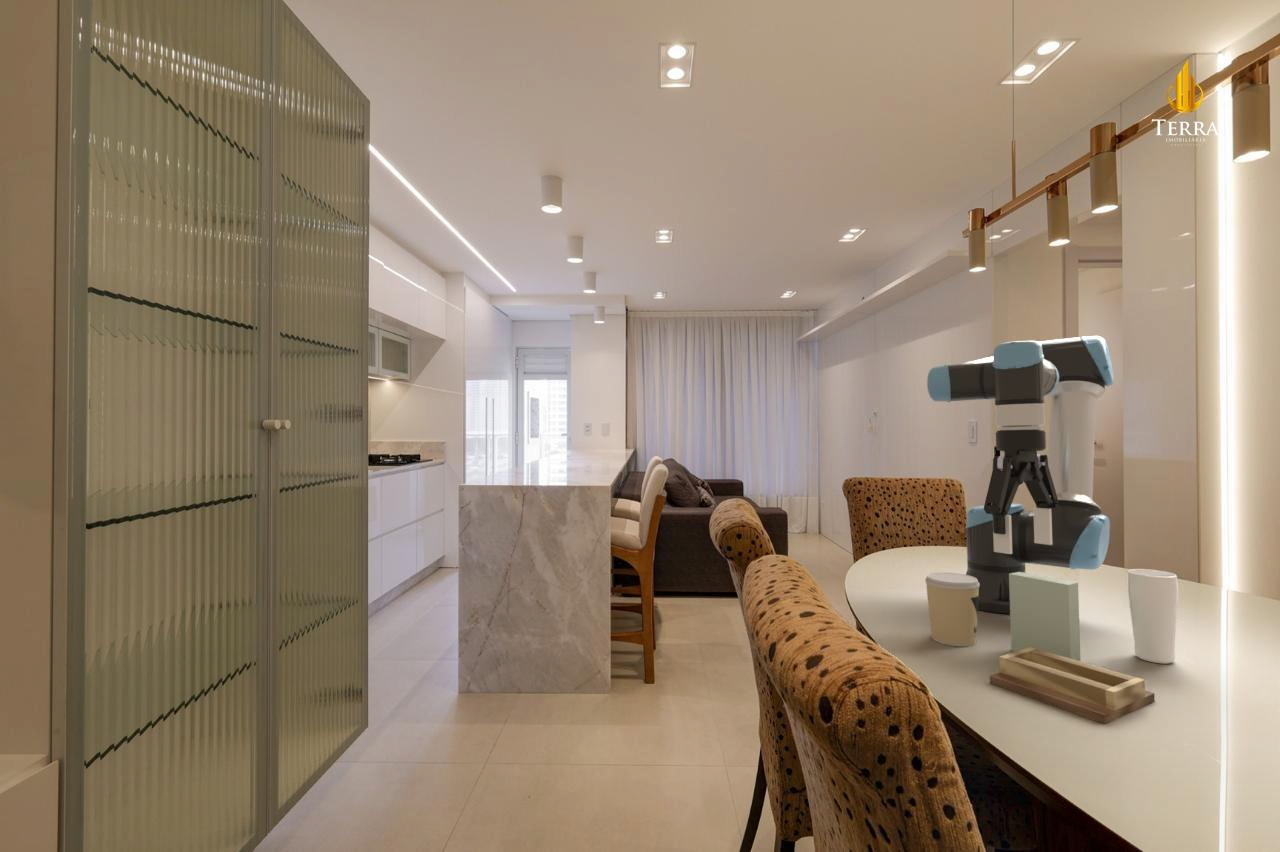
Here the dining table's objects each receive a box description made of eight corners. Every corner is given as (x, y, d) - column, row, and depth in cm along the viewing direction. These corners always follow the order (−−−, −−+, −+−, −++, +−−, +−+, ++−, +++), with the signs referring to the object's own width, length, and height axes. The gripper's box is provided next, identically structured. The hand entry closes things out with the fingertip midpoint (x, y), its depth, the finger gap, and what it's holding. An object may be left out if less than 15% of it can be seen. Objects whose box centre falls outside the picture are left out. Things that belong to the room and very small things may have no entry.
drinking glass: (1132, 649, 110) (1129, 566, 111) (1182, 658, 106) (1179, 572, 106) (1127, 659, 106) (1124, 573, 106) (1178, 669, 101) (1175, 579, 101)
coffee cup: (988, 649, 112) (986, 583, 112) (934, 646, 114) (932, 582, 114) (971, 633, 121) (970, 572, 121) (921, 630, 123) (919, 571, 123)
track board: (1040, 666, 103) (1039, 644, 103) (1154, 701, 89) (1153, 676, 89) (989, 683, 97) (989, 659, 97) (1104, 723, 83) (1103, 696, 83)
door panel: (1020, 647, 113) (1018, 571, 113) (1080, 664, 104) (1078, 582, 104) (1011, 650, 111) (1008, 573, 111) (1070, 668, 102) (1068, 584, 103)
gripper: (1033, 428, 118) (1037, 537, 117) (958, 430, 105) (962, 553, 105) (1077, 427, 111) (1081, 543, 111) (1003, 429, 98) (1007, 560, 98)
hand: (1023, 548), depth 108 cm, fingers open, 13 cm apart
